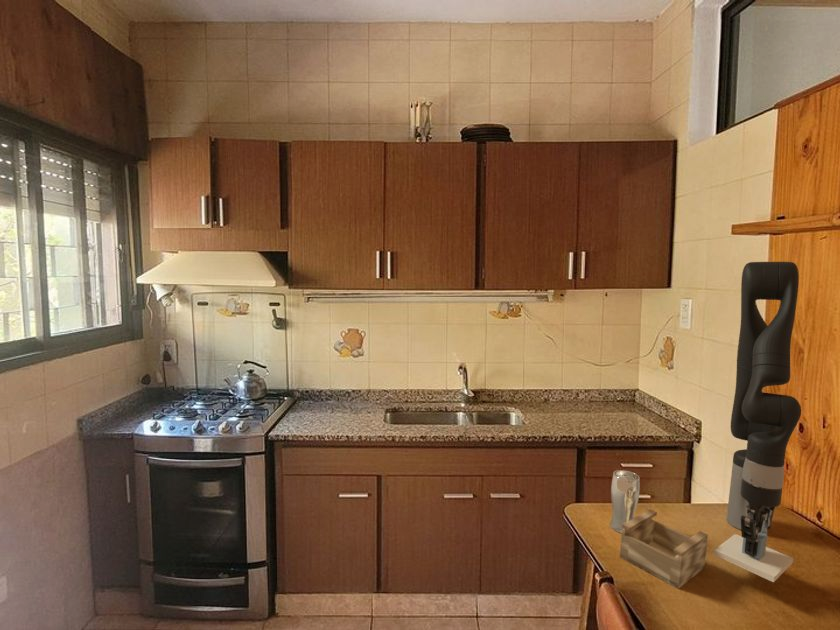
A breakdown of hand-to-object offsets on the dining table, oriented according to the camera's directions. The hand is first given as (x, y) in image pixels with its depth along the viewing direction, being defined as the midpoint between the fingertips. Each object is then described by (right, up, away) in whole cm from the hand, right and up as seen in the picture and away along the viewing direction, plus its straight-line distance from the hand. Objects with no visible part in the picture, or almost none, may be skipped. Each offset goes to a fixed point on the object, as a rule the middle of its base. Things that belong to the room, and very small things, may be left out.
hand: (753, 551), depth 111 cm
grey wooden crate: (-18, -5, +6) cm, 20 cm away
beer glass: (-22, -4, +21) cm, 30 cm away
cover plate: (0, -2, 0) cm, 2 cm away
